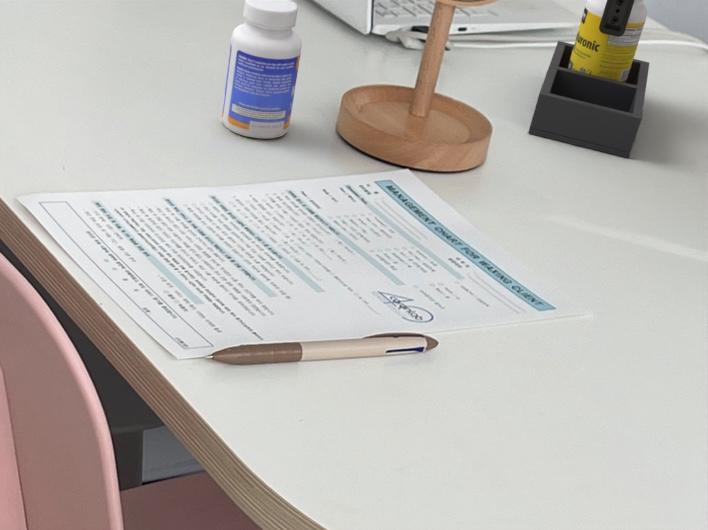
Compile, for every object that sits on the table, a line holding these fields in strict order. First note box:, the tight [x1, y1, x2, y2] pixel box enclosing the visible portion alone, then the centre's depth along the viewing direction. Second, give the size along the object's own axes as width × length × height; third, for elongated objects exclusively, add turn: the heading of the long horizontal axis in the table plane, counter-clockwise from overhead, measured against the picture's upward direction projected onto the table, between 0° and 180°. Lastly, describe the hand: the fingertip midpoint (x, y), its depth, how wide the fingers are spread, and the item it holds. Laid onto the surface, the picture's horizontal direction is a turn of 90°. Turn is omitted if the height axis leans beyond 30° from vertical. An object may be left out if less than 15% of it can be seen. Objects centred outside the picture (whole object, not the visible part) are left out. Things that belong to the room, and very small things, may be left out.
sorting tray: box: [527, 40, 650, 159], centre depth 116 cm, size 16×9×4 cm, turn 164°
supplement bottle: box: [567, 0, 648, 83], centre depth 116 cm, size 5×5×10 cm
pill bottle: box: [221, 0, 303, 140], centre depth 100 cm, size 5×5×10 cm
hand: (612, 24), depth 116 cm, fingers closed on supplement bottle, 5 cm apart
